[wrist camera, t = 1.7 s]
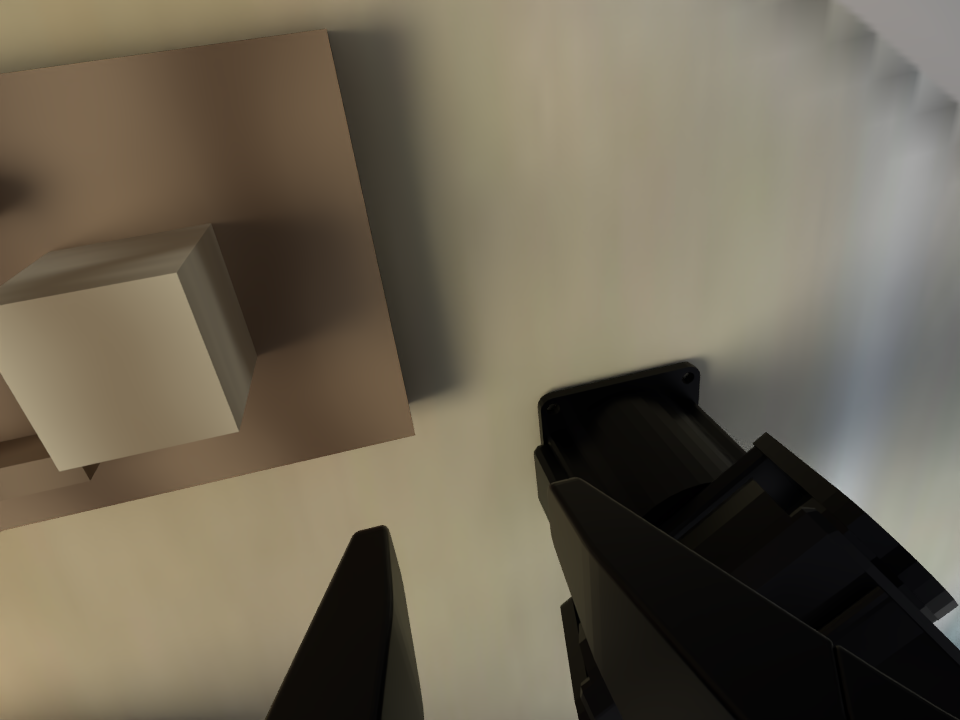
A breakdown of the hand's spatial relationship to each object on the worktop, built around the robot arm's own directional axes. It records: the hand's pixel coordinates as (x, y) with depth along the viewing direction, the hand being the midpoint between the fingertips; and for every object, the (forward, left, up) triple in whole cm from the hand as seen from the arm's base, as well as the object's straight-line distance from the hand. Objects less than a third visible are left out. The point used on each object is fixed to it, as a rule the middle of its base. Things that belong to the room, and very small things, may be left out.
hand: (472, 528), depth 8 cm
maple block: (+6, 0, -11) cm, 13 cm away
